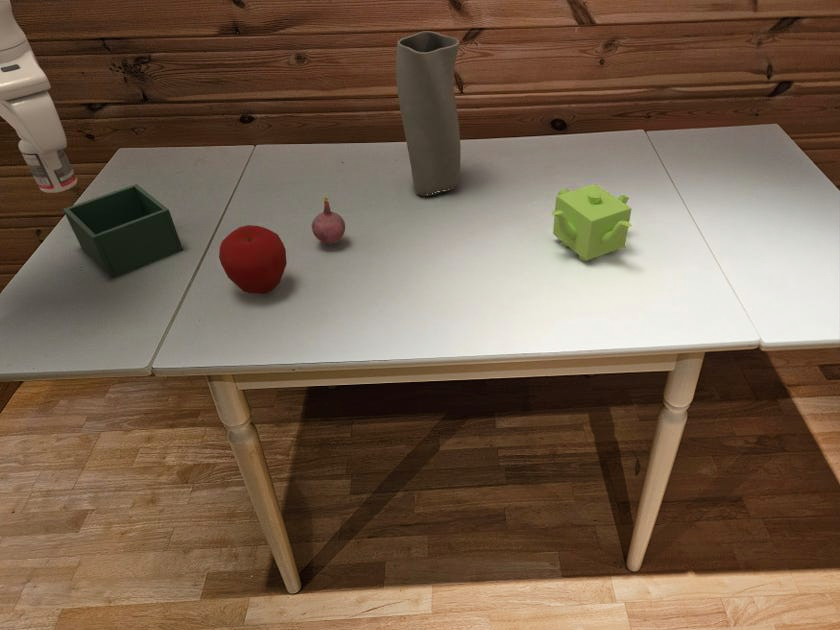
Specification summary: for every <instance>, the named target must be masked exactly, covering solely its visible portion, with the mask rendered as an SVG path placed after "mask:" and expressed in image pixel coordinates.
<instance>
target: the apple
mask: <svg viewBox="0 0 840 630" xmlns="http://www.w3.org/2000/svg"><path fill="white" fill-rule="evenodd" d="M218 251H219V252H218V253H219V254H218V258H219V262H220V265H221V267H222V268H223V271H224V272H225V274H226V276H227V278H228V279H229V280H230V281H231V282H232V283H234V284H235V285H236V287H237V288H239V289H240V290H241V291H242V292H243V293H247V294H250V295H263V294H264V295H265V294H268V293H270V292H272V291H273V290H274V289H276V288H277V287H278V286H279V285H280V283H281V281H282V279H283V275H284V273H285V270H286V268H287V249H286V246H285V244H284V242H283V240H282V239H281V237H280V236H279V234H278V233H276V232H275V231H273V230H272V229H269V228H266V227H264V226H260V225H252V224H249V225H244V226H239V227H238V228H236V229H234V230H232V231H231V232H230V233H229V234H228V235H226V236H225V238H224V239H222V241H221V243H220V245H219V250H218Z"/></svg>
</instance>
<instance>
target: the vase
mask: <svg viewBox="0 0 840 630" xmlns="http://www.w3.org/2000/svg"><path fill="white" fill-rule="evenodd" d="M459 46H460V40H459V39H458V38H456V37H454V36H449V35H444V34H442V33H438V32H436V31H432V30H431V31H430V30H424V31H419V32H417V33H414V34H412V35H409V36H405V37H402V38H400V39H398V40H397V43H396V54H395V55H396V57H395V80H396V81H395V83H396V92H397V98H398V105H399V106H398V107H399V111H400V115H401V121H402V127H403V131H404V137H405V142H406V147H407V152H408V158H409V163H410V170H411V175H412V183H413V188H414V191H415V192H416V193H417V194H418V195H420V196H422V197H430V196H434V195H437V194H440V193H445V192H449V191H450V190H448V189H451V190H453V189H454V188H456V187H457V186H458V184H459V183H460V177H461V160H462V159H461V153H462V152H461V150H462V149H461V148H462V147H461V134H460V133H461V132H460V121H459V114H458V108H457V102H456V101H457V100H456V93H455V85H454V84H455V66H456V62H457V55H458V52H459ZM456 185H457V186H456ZM455 186H456V187H455ZM453 187H454V188H453ZM452 188H453V189H452ZM443 190H447V191H443ZM437 191H440V192H437ZM435 192H436V193H435ZM432 193H433V194H432ZM427 194H428V195H427Z"/></svg>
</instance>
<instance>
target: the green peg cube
mask: <svg viewBox="0 0 840 630" xmlns="http://www.w3.org/2000/svg"><path fill="white" fill-rule="evenodd" d="M629 199H630V197H629V196H627V195H626V194H620V195H619V196H618V197H616V196H614V195H613V194H611V193H610V192H608V191H606V190H605V189H603V188H602V187H600V186H599V185H598V184H596V183H594V184H590V185H587V186H584V187H580V188H577V189H574V190H570V189H569V188H563V189H561V190H560V191H559V192H558V194H557V195H556V197H555V208H554V210H553V211H551V212H550V215H552V216H554V219H553V228H552V229H553V230H552V235H554V236H555V237H556V238H558V240H560V241H561V246H563V247H566V248H570V249H571V250H572V251H573V252H574V253H576V254H578V259H579V260H581V261H583V262H588V261H590V260H592V259H595V258H597V257H600V256H603V255H606V254H609V253H613V252H614V251H617V250H621V249H623V248H625V247H626V242H627V237H628V232H629V231H628V230H629V228H630V227H632V224H631V223H630V221H631V220H630V219H631V214H632V207H631V206H629V205H628V204H627V203H628V201H629Z"/></svg>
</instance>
